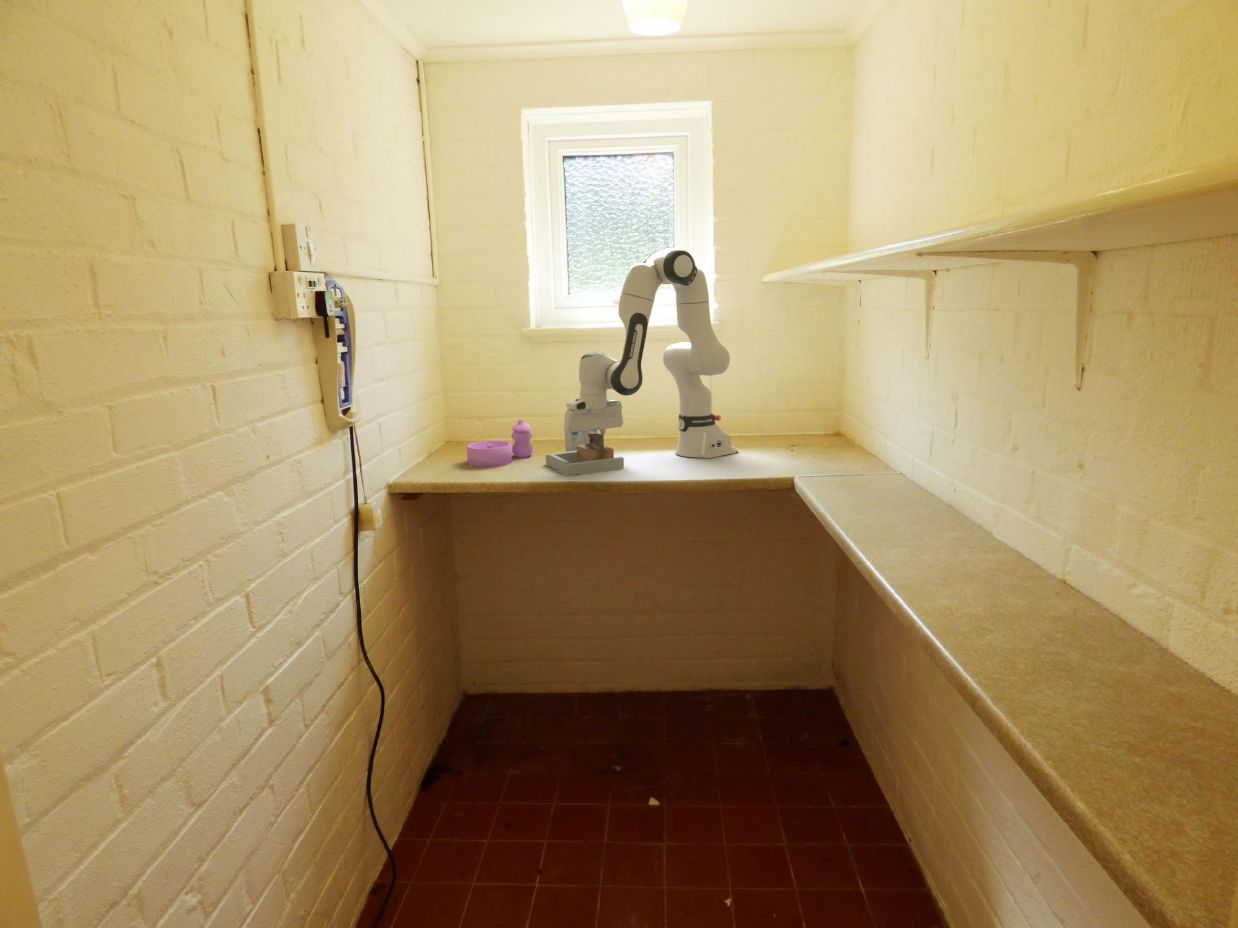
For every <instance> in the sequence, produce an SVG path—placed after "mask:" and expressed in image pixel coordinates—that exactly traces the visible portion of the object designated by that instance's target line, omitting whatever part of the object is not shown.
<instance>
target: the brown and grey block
mask: <svg viewBox="0 0 1238 928" xmlns="http://www.w3.org/2000/svg"><path fill="white" fill-rule="evenodd" d="M588 436H589V437H590V438H592V442H593V443H592V444H587V442H586V444H584V445H577V462H584V461H592V460H600V459H608V458H615V454H614V448H613V447H610V446H607V445H605V438H604V437H605V435H604V436H603V435H600V433H599V432H598V433H595V432H589V434H588ZM577 462H576V463H577Z"/></svg>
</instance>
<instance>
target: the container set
mask: <svg viewBox="0 0 1238 928" xmlns="http://www.w3.org/2000/svg"><path fill="white" fill-rule="evenodd" d="M531 429H532V427H531V425H530V424H528V423H525V420H524V419H517V423H515V424H513V425H512V427H511V430H512V431H513V432H512V433H511V440H513V441H514V443H513V444H512V442H511V441H509V440H502V439H501V440H499V439H495V440H494V439H492V440H490V439H489V440H480V441H474V442H470V443H468V444H466V445H465V446H466V456H467V457H466V459H467V465H468V466H470V465H471V466H470V467H474V468H495V467H502V466H506V465H510V464H512V462H513V455H514V456H515V457H516V458H519V459H520V458H521V459H522V458H529V457H531V455H532V454H533V451H534V448H533V445H532V443H531V442H530V441H531V440H532V438H533V435H532V432H531ZM528 456H529V457H528Z"/></svg>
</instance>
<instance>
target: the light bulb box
mask: <svg viewBox="0 0 1238 928" xmlns="http://www.w3.org/2000/svg"><path fill="white" fill-rule="evenodd" d="M563 428H564V445H565V452H569V451H577V445H584V444H586V437H585V436H584V434H583V431H582V432H573V433H570V432H567V431H566V430H565V427H563ZM589 432H595V433H598V434H599V432H598V430H590V431H589Z"/></svg>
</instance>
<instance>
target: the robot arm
mask: <svg viewBox="0 0 1238 928" xmlns="http://www.w3.org/2000/svg"><path fill="white" fill-rule="evenodd" d="M662 284H663V285H672V286H673V288H674V290H675V291H674V292H675V302H676V303H675V305H676V307H675V308H676V318H677V320H676V321H677V326H678V328H679V330H681V331H682V332H683V333H685V335H686V336H687V338H688V340H689V342H686V341H685V342H684V341H683V342H676V343H672V344H669V345H667V347H666V348H665V350H664V353H663V355H662V361H663V362H662V363H663V364H664V367H665V368H666V370H668V372H670V374H671V375H672V376H673V379H674V380H675V383H676V386H677V389H678V390H677V391H678V394H679V413H678V430H679V431H678V432H679V433H678V438H677V439H678V440H677V445H676V449H675V455H677V456H681V457H684V458H685V457H686V458H701V459H702V458H703V459H713V458H718V457H721V456H722V457H723V456H726V455H727V456H728V455H731V454H736V452H737V453H739V450H738V448H737V447H735V446H733V445H732V439H731V435H730V434H729V433H728V432H727V431H725V430H724V429H723V428H722V427H720V426H719V424H716V421H717V422H720V421H721V419H722V416H721V415H720V414H715V415H714V413H712V392H711V390H710V388H709V387H707V386H706V385H705V384H704V382H703V381H702V379H701V376H709V377H712V376H718V375H721V374H724V373H726V371H727V369H728V368H729V366H730V362H731V359H730V358H731V357H730V352H729V351H728V348H727V347H725V346H724V345H723V343H721V342H720V341H719V339H718V338H717V336H716V334H715V332H714V329H713V327H712V321H711V312H710V297H709V288H708V284H707V279H706V276H705V273H704V272H703V271H702V270H701V269H699V268H698V267H697V265H696V263H695V260H694V257H693V256H692V255H691V253H690V252H689V251H686V250H685V249H681V248H665V249H663V250H655V251H653V252H651V253H650V254H649V255H648V256H647V257H645V259H644V261H643V262H642V263H641V262H640V263H639V262H638V263H635V264H633V265H632V266H631V267H630V268H629V271H628V273H627V274H626V277H625V281H624V283H623V285H622V290H621V293H620V298H619V301H618V316H619V319H620V320H621V322H622V324H623V326H624V329H625V339H624V345H623V350H622V355H621V360H617V359H616V358H615V359H614V358H612V357H610V356H608V355H606V354H604V353H603V352H601V351H593V352H589V353H585V354H584V355H582V357H581V358H580V360H579V364H578V365H579V366H578V367H579V368H578V371H579V372H578V381H579V384H580V390H579V396H578V397H576V398H573V399H571V400H568V401H567V402H566V403H565V404H566V405H565V406H566V408H567V410H565V413H564V421H563V422H564V423H563V426H564V427H565V430H566V431H567V432H570V433H573V432H582V431H583V434H584V436H585V437H586V442H587V444H592V443H593V442H592V438H590V437H589V436H588V434H589V431H590V430H599V434H600V435H603V436H604V437H605V434H606V433H607V429H615V428H622V426H623V424H624V419H623V412H622V411H623V410H622V409H623V405H622V402H621V401H619V400H618V399H613V400H611V399H609V400H608V399H607V397H608V396H607V395H608V394H607V390H613V391H615V392H616V393H617V394H620V395H621V396H632V395H634V394H635V393H637V392H638V391H639V390H640V388H641V387H642V385H643V372H642V371H643V370H642V362H643V361H642V360H643V356H644V355H643V354H644V349H645V344H646V338H647V332H648V328H649V327H648V326H649V322H650V319H651V314H652V311H653V307H654V303H655V298H656V293H657V291H658V289H659V287H660V286H661V285H662ZM564 427H563V428H564ZM565 430H564V431H565Z"/></svg>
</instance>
